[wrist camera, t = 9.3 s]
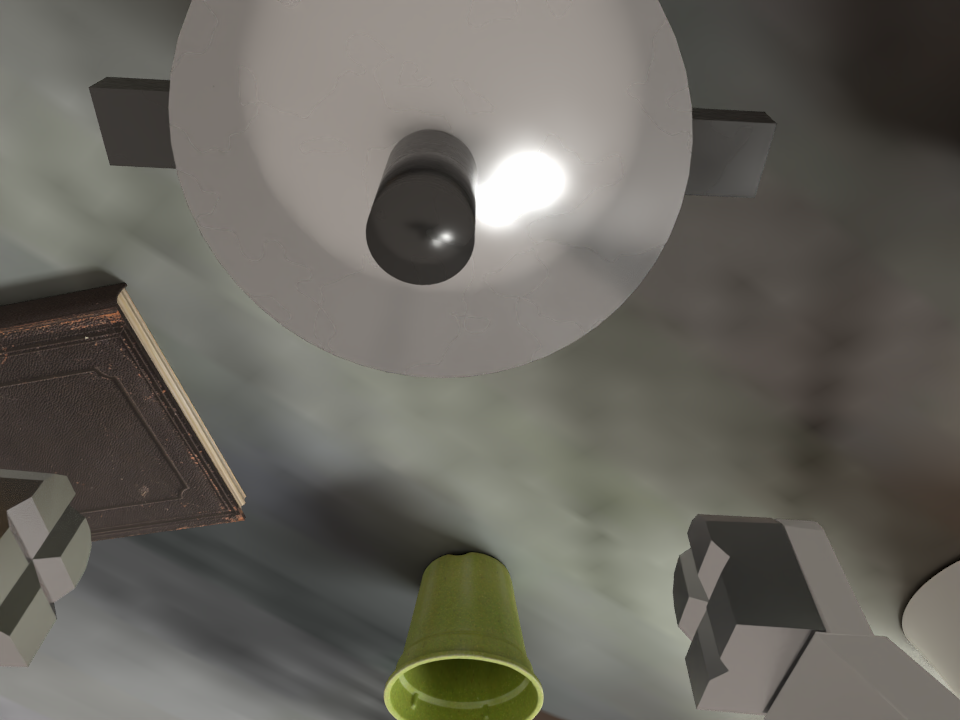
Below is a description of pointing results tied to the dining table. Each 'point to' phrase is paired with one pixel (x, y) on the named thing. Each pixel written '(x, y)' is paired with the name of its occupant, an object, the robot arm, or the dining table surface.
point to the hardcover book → (107, 417)
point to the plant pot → (464, 648)
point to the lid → (432, 168)
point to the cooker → (713, 172)
